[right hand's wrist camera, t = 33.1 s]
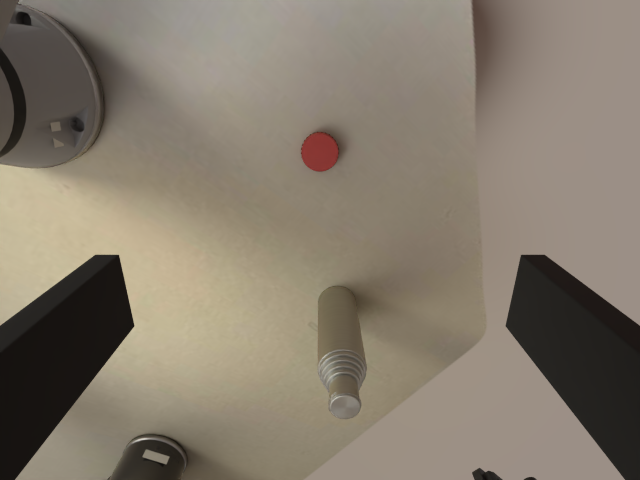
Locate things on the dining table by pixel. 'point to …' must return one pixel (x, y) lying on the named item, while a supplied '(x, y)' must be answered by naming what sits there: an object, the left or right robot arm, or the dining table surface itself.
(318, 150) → the cap
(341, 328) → the bottle
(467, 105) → the dining table surface
